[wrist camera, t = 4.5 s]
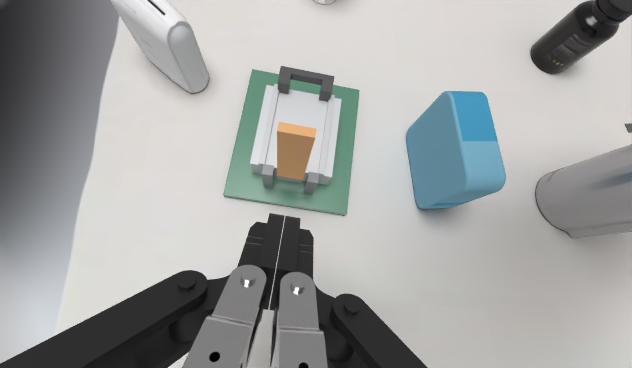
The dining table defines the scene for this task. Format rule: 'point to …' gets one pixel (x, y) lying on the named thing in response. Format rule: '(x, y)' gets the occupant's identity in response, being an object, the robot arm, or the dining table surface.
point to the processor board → (284, 187)
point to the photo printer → (165, 40)
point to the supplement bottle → (579, 33)
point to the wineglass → (324, 1)
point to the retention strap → (293, 150)
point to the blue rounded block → (454, 151)
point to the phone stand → (629, 127)
